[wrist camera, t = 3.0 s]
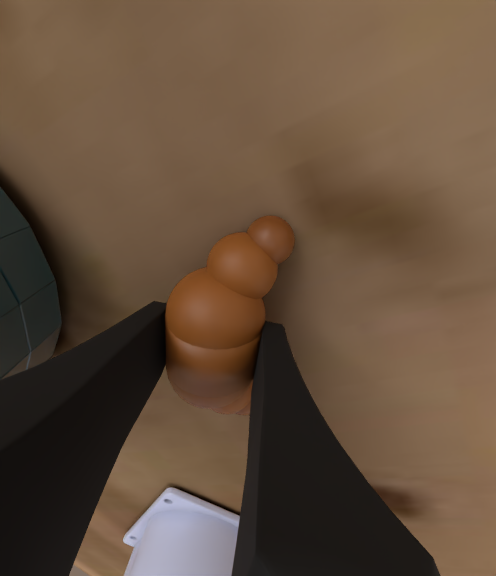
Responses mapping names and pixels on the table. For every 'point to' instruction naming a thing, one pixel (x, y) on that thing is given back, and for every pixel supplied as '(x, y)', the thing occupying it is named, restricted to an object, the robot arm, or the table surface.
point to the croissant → (224, 317)
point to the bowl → (24, 295)
